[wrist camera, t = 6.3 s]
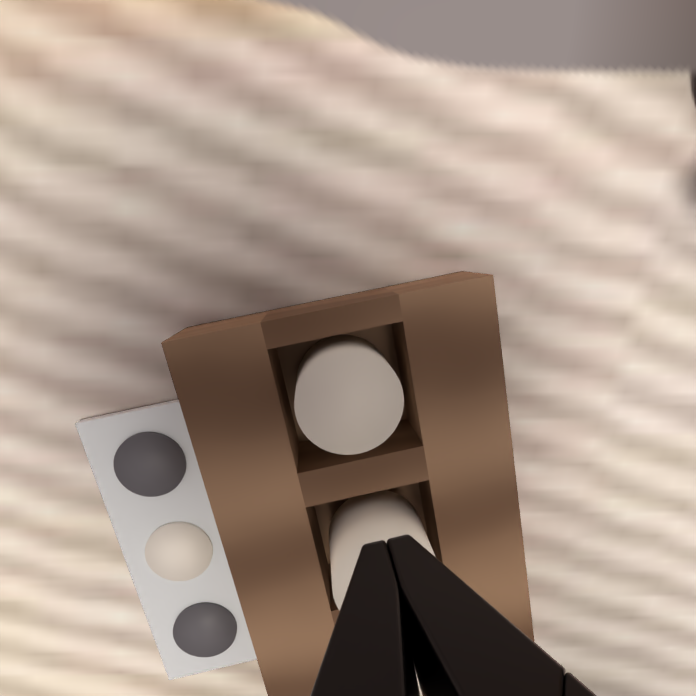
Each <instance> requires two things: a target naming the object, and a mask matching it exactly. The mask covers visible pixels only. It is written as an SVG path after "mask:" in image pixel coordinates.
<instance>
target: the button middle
mask: <svg viewBox="0 0 696 696" xmlns="http://www.w3.org/2000/svg"><path fill="white" fill-rule="evenodd" d="M407 534H408V535H410V536H412V537H413V538H414V539H415V540H416V541H417V542H419V543H420V544H421V545H422V546H423V547H424V548H426V549H427V550H428V551H429V552H430V553H431V554H432V555H434V556H435V554H434V552H433V549H432V547H431V545H430V542H429V540H428V537H427V535H426V532H425V530H424V528H423V525H422V523H421V520H420V518H419V516H418V513H417V511H416V509H415V508H414V506H413V505H412V504H411V503H410V502H409V501H408V500H407V499H406V498H404V497H403V496H401V495H399V494H397V493H394V492H391V491H386V490H382V491H378V492H373V493H369V494H364V495H360V496H355V497H351V498H349V499H348V500H347V501H345V502H344V503H343V504H342V505H341V506H340V507H339V508H338V509H337V511H336V512H335V514H334V515H333V518H332V520H331V523H330V526H329V547H330V562H331V578H332V592H333V598H334V601H335V603H336V605H337V607H338V609H339V610H340V609H341V606H342V603H343V600H344V597H345V594H346V591H347V588H348V586H349V583H350V580H351V577H352V574H353V571H354V568H355V565H356V562H357V560H358V557H359V554H360V551H361V548H362V546H363V545H364V544H367V543H371V542H375V541H380V540H384V541H385V542H386V543H387V540H388V539H389V538H393V537H397V536H401V535H407Z"/></svg>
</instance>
